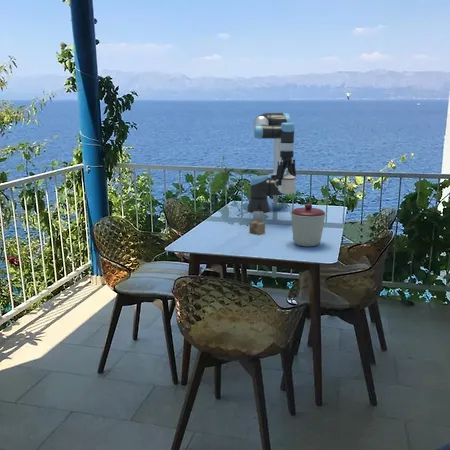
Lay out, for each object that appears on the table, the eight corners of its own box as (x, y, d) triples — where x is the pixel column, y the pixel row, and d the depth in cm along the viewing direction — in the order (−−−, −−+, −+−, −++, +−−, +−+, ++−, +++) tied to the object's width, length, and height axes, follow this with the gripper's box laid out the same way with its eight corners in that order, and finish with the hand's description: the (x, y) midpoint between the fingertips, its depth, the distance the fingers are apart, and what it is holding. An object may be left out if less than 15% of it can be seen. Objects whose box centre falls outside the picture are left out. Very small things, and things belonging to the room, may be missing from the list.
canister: (300, 237, 253) (302, 198, 248) (331, 243, 242) (333, 203, 237) (282, 244, 240) (283, 204, 234) (313, 251, 228) (315, 209, 223)
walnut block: (249, 232, 262) (249, 222, 260) (255, 231, 265) (255, 220, 264) (259, 235, 257) (259, 224, 256) (264, 233, 261) (265, 223, 259)
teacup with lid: (296, 191, 275) (297, 171, 272) (293, 194, 266) (294, 173, 263) (275, 190, 278) (276, 170, 275) (272, 193, 270) (273, 172, 267)
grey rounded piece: (250, 225, 278) (250, 212, 276) (257, 223, 283) (257, 210, 281) (258, 227, 274) (258, 213, 272) (265, 225, 279) (265, 211, 277)
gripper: (280, 152, 257) (279, 193, 262) (303, 149, 272) (301, 188, 277) (269, 151, 262) (268, 191, 267) (292, 148, 277) (291, 186, 282)
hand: (285, 189), depth 272 cm, fingers closed on teacup with lid, 9 cm apart
